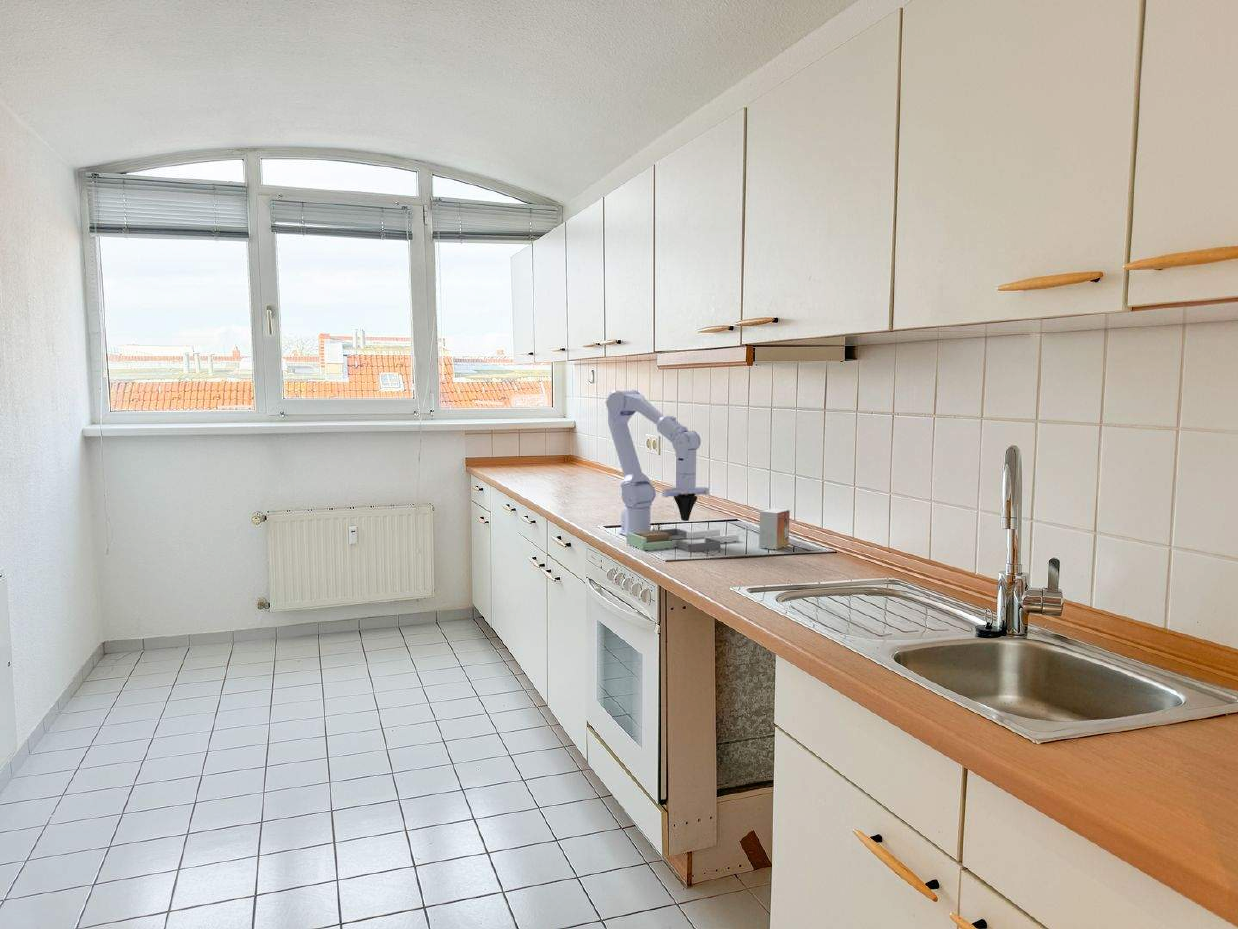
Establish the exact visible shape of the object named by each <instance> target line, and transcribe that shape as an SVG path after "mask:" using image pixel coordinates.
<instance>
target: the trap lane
mask: <svg viewBox="0 0 1238 929" xmlns="http://www.w3.org/2000/svg"><path fill="white" fill-rule="evenodd" d="M654 530H655V529H654ZM654 530H653V529H652V531H654ZM658 530H659V531H663V532H666V533H669V541H663V542H652V543H647V538H645V537H642V536H639V535H636V534H633V533H630V532H627V536H626V545H627V544H629V545H631V546H630V547H632V546H635V547H638V548H640V549H642V550H641V551H643V550H649V551H654V550H653V549H658V550H666V549H665V548H668V549H675V548H674V547H678V548H677V549H679V548H680V549H679V550H683V551H686V552H689V553H691V552H692V553H693V552H700V551H710V550H718V549H719V550H720V549H721V544H723V543H724V542H727V543H734V541H736V542H739V533H738V534H737V533H736V534H726V535H720V533H721V530H720V528H717V529H716V528H715V529H714V528H713V529H706V530H694V531H693V530H692V531H687V530H683V529H680V528H676V527H675V528H664V529H658ZM699 538H700V539H702V538H703V539H704V540H703V542H698V543H697V542H695V543H687V542H684V541H681V540H689V539H699ZM671 540H672V541H671ZM724 544H725V543H724ZM629 545H628V546H629ZM635 547H634V548H635ZM640 549H639V550H640Z"/></svg>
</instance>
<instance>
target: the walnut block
mask: <svg viewBox="0 0 1238 929" xmlns="http://www.w3.org/2000/svg"><path fill="white" fill-rule="evenodd" d="M659 530H660V529H656V530H655V529H654V531H653V530H650V531H642V532H634V534H636V535H639V536H642V537H645V538H647V543H652V542H663V541H669V533H666V532H663V531H659Z"/></svg>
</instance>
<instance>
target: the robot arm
mask: <svg viewBox="0 0 1238 929" xmlns="http://www.w3.org/2000/svg"><path fill="white" fill-rule="evenodd" d="M605 404H606V409H607V423H608V428H609V430H610V434H611V437H612V440H613V445H614V446H615V450H616V451H615V452H616V453H617V456H618V461H619V463H620V467H621V470H622V474H623V480H622V481H621V483H620V487H621V488H620V489H621V500H622V502H623V503H624V505H625V506H624V507H623V508H622V511H621V526H620V528H621V531H618V534H619V535H622V534H623V535H622V536H625V537H627V532H630V533H633V534H634V532H642V531H651V506H652V503H653V502H654V500H655V498H656V495H657V494H656V493H657V492H656V489H655V487H654V486H653V484H652V483H651V481H650V478H649V477H648V476H647V475H646V474H645V473H643V472H642V468H641V464H640V462H639V459H638V455H637V452H636V449H635V445H634V441H633V439H632V435H631V432H630V429H629V426H628V423H629V421H630V419H632V417H634V415H635V414H636V412H637V413H639V414H640V415H642V416H644V418H646V419H648V420H649V421H650V422H652V423H653V424H655V425H656V430H657V432H658V433H659V434H660V435H662V436H663V437H664V438H665V439H667V440H668V441H669V442H670V443H671V444H672V448H673V449H674V451H675V457H676V459H675V463H676V464H675V487H674V488H672V487H671V488H667V489H661V497H663V498H669V497H673V500H674V502H675V504H676V505H677V508H678V510H679V511H678V512H679V515H680V519H681V521H684V522H688V521H689V522H690V517H691V514H692V510H693V508H694V505H695V504H696V502H697V501H698V495H705V496H706V495H709V492H710V491H709V487H706V486H701V487H700V486H697V480H696V479H697V450H698V449H699V448H700V446H701V441H702V440H701V437H700V435H699V434H698V433H697V431H695V430H688V427H687V426H684V425H682V424H681V423H680V422H679V421H677V418H676V416H674V415H672V416H671V415H663V413H661V412H660V411H659V410H658V409H657V408H656V407H655V406H653V404H652V403H650V402H649V401H648V400H647V399H646V397H645V396H644V395H643V394H642V393H640V392H639V391H638V390H636V389H632V390H618V389H614V390H612V391H611V392H610V393H609V395H608V396H607V398H606V400H605Z"/></svg>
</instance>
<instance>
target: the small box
mask: <svg viewBox="0 0 1238 929" xmlns="http://www.w3.org/2000/svg"><path fill="white" fill-rule="evenodd" d="M790 517H791V516H790V509H783V508H774V507H772V508H768V509H766V510H760V511H759V523H758V524H759V527H758V528H759V530H758V532H759V535H758V543H759V544H758V548H759V547H760V548H759V549H765V548H767V550H773V549H775V551H777V550H780V549H782V548H781V547H784V546H788V545H790V544H789V541H790V539H789V538H790ZM788 547H789V546H788ZM779 548H780V549H779ZM784 548H785V547H784Z"/></svg>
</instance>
